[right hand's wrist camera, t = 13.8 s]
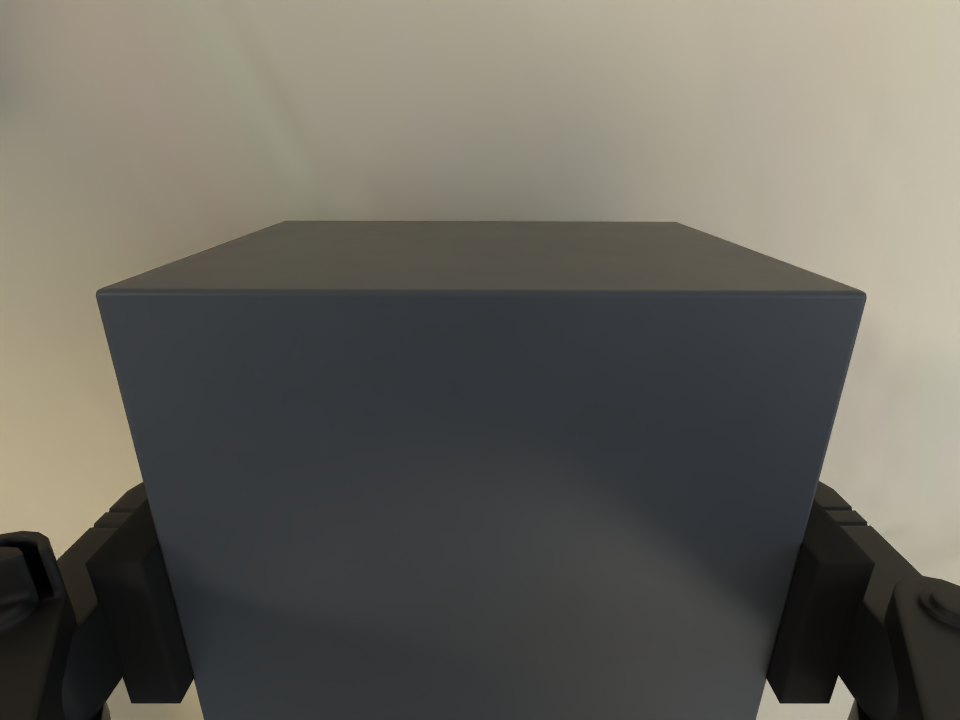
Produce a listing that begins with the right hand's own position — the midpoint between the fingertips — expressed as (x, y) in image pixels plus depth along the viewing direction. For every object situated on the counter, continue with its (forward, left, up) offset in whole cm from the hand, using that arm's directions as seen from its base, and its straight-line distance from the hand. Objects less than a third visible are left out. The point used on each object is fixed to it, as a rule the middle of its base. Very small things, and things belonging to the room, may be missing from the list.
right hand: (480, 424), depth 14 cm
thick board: (+12, -21, -1) cm, 25 cm away
